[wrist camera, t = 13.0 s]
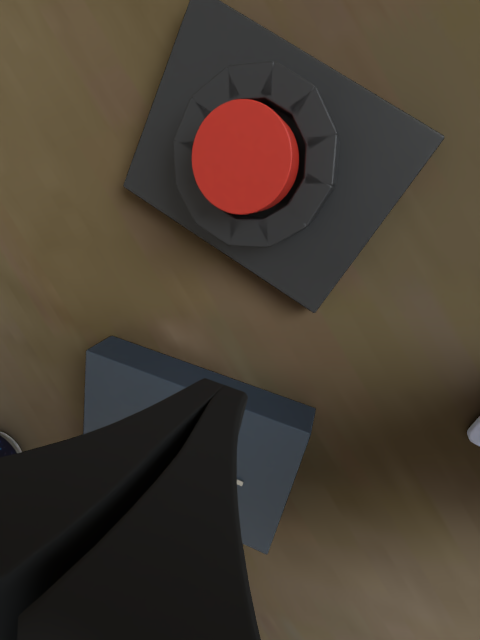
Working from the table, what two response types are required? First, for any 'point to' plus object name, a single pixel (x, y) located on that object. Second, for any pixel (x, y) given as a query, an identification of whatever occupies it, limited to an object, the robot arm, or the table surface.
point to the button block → (313, 144)
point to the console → (254, 436)
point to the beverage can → (8, 445)
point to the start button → (244, 157)
